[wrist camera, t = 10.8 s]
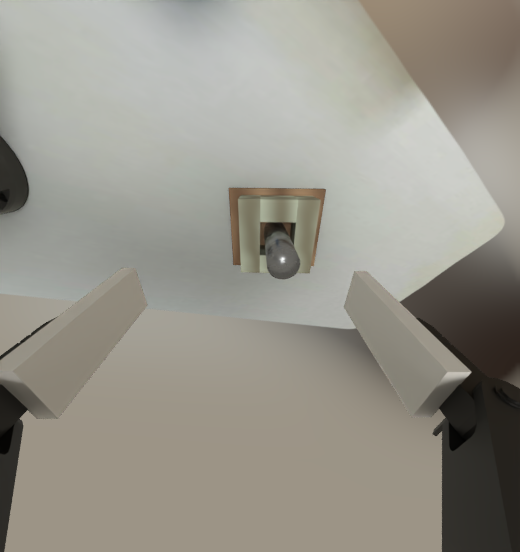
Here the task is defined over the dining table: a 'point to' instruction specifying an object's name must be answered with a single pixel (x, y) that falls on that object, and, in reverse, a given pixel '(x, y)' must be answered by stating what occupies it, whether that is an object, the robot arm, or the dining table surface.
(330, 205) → the dining table surface
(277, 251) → the peg
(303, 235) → the socket
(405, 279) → the dining table surface
